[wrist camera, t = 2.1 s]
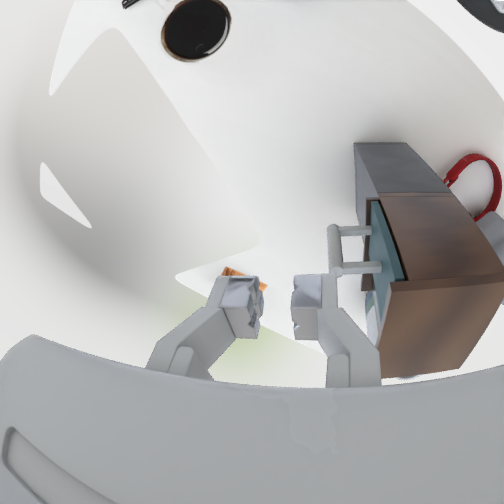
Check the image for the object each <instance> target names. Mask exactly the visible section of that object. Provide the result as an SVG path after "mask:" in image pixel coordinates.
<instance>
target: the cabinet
mask: <svg viewBox="0 0 504 504" xmlns="http://www.w3.org/2000/svg"><path fill="white" fill-rule="evenodd" d="M354 157H355V179H356V213H357V217H358V221H359V225H360V226H370V221H371V201H378V203H379V205H380V208H381V210H382V213H383V216H384V218H385V221H386V224H387V226H388V229H389V232H390V235H391V237H392V240H393V243H394V246H395V249H396V252H397V255H398V259H399V262H400V265H401V268H402V272H403V275H404V281H400V282H389V287H388V292H387V297H386V302H385V307H384V312H383V316H382V320H381V323H380V316H379V309H378V302H377V296H376V290H375V284H374V279H373V273H365V274H362V280H361V291H372V293H373V300H374V306H375V314H376V322H377V330H378V337H377V341H376V344H375V347H376V348H377V349H378V351H379V355H380V368H381V379H383V378H394V377H404V376H413V375H421V374H428V373H435V372H442V371H447V370H453V369H459V368H460V367H461V365H462V364H463V363H464V361H465V360H466V359H467V357H468V356H469V354H470V353H471V351H472V350H473V348H474V347H475V346H476V344H477V343H478V341H479V339H480V338H481V336H482V335H483V333H484V332H485V330H486V328H487V327H488V325H489V323H490V321H491V320H492V318H493V317H494V315H495V313H496V311H497V309H498V308H499V306H500V304H501V302H502V300H503V298H504V265H503V264H502V262H501V260H500V259H499V257H498V255H497V254H496V252H495V251H494V249H493V247H492V246H491V244H490V243H489V241H488V240H487V238H486V237H485V235H484V234H483V232H482V231H481V230H480V228H479V227H478V225H477V224H476V222H475V221H474V220H473V218H472V217H471V216H470V214H469V213H468V212H467V210H466V209H465V208H464V206H463V205H462V204H461V203H460V201H459V200H458V199H457V198H456V197H455V195H454V194H453V193H452V192H451V191H450V189H449V188H448V187H447V186H446V185H445V183H444V182H443V181H442V180H441V179H440V178H439V177H438V176H437V174H436V173H435V172H434V171H433V170H432V169H431V168H430V167H429V166H428V165H427V164H426V163H425V161H424V160H423V159H422V158H421V157H420V156H419V155H418V154H417V153H416V152H415V151H414V150H413V149H412V148H411V147H410V146H409V145H408V144H407V143H354ZM362 239H363V243H364V253H363V262H368V261H370V258H369V241H370V235H362Z"/></svg>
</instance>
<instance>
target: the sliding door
mask: <svg viewBox="0 0 504 504" xmlns="http://www.w3.org/2000/svg"><path fill="white" fill-rule="evenodd" d="M359 235H370V241H369V258H370V261H368V262H344V263H343V255H342V246H341V237H340V236H359ZM327 237H328V260H329V273H336V275H337V278H338V277H341V276H342V275H343V274H365V273H373V279H374V284H375V290H376V296H377V302H378V309H379V316H380V323H381V320H382V316H383V312H384V307H385V302H386V297H387V292H388V287H389V282H400V281H404V275H403V272H402V268H401V265H400V262H399V259H398V255H397V252H396V249H395V246H394V243H393V240H392V237H391V235H390V232H389V229H388V226H387V224H386V221H385V218H384V216H383V213H382V210H381V208H380V205H379V203H378V201H371V221H370V226H345V227H339V226H338V225H336V224H331V225H329V226H328V228H327Z"/></svg>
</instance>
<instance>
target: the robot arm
mask: <svg viewBox="0 0 504 504" xmlns="http://www.w3.org/2000/svg"><path fill="white" fill-rule="evenodd" d="M490 1H491V2H492V4H493V5H494V7H495V8H496V10H497V11H498V12H499V13H502V14H504V9H503V8H504V0H490ZM259 285H260V282H259V279H258V277H257V276H219V277H217V279H216V281H215V284H214V286H213V288H212V291H211V293H210V296H209V299H208V301H207V304H206V306H205V307H201V308H200V309H199V310H197V311H196V312H195V313H193V314H192V315H191V316H190V317H188V318H187V319H186V320H184V321H183V322H182V323H181V324H179V325H178V326H177V327H176V328H175V329H173V330H172V331H170V332H169V333H168V334H167V335H165V336H164V337H163V338H161V339H160V340H159V341H158V342H157V343H156V345H155V348H154V350H153V352H152V354H151V357H150V359H149V361H148V363H147V365H146V368H141V367H136V366H132V365H128V364H124V363H120V362H116V361H113V360H109V359H105V358H102V357H98V356H95V355H92V354H88V353H85V352H82V351H79V350H76V349H73V348H70V347H67V346H64V345H61V344H58V343H56V342H53V341H50V340H47V339H45V338H43V337H40V336H37V335H30V336H28V337H26V338H24V339H23V340H21V341H20V342H19V343H17V344H16V345H15V346H13V347H12V348H11V349H10V350H9V351H8V352H7V353H6V354H5V356H4V357H3V358H2V360H1V361H0V504H504V365H500V366H496V367H493V368H489V369H485V370H480V371H476V372H472V373H467V374H463V375H457V376H452V377H446V378H441V379H434V380H428V381H421V382H413V383H405V384H396V385H385V386H382V385H381V368H380V355H379V351H378V349H377V348H376V347H375V346H374V345H373V344H372V342H371V341H370V340H369V339H368V338H367V336H366V335H365V334H364V333H363V332H362V330H361V329H360V328H359V327H358V326H357V325H356V323H355V322H354V321H353V320H352V319H351V318H350V316H349V315H348V314H347V313H346V312H345V311H344V309H343V308H338V296H337V275H336V273H328V274H308V275H295V276H294V291H293V292H292V300H291V314H292V321H293V322H294V334H295V340H318V342H319V344H320V345H321V347H322V349H323V350H324V352H325V354H326V355H327V357H328V359H327V375H326V387H325V388H293V387H273V386H260V385H247V384H236V383H228V382H220V381H214V379H213V378H212V376H211V375H210V373H209V372H208V371H207V370H208V369H209V367H210V366H211V365H212V364H213V363H214V362H215V361H216V360H217V359H218V358H219V357H220V356H221V355H222V354H223V353H224V351H225V350H226V349H227V348H228V347H229V346H230V345H231V344H232V343H233V342H234V341H235V338H246V339H247V338H248V339H251V338H252V339H257V337H258V332H259V328H260V322H259V318H260V317H261V316H262V314H263V306H264V300H263V294H262V291H260V290H259Z"/></svg>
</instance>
